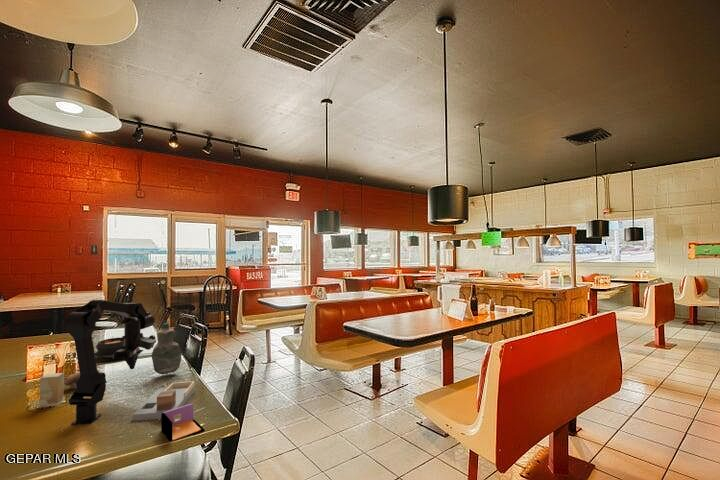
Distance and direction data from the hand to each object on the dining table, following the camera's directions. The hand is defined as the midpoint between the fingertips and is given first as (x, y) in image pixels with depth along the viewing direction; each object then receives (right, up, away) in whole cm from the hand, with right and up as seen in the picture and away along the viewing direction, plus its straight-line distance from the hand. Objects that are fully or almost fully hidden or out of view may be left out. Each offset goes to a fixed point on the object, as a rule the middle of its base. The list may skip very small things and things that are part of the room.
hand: (132, 368), depth 147 cm
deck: (+20, -11, -10) cm, 25 cm away
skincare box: (-26, -11, -9) cm, 30 cm away
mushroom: (-31, -12, +8) cm, 34 cm away
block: (+24, -8, -17) cm, 30 cm away
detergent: (+1, -12, +25) cm, 27 cm away
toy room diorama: (+37, -11, -30) cm, 49 cm away
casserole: (-49, -13, +57) cm, 76 cm away
